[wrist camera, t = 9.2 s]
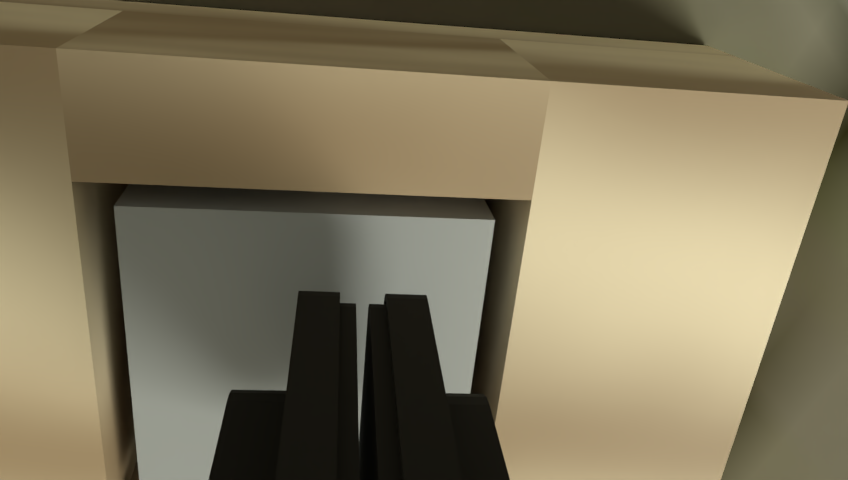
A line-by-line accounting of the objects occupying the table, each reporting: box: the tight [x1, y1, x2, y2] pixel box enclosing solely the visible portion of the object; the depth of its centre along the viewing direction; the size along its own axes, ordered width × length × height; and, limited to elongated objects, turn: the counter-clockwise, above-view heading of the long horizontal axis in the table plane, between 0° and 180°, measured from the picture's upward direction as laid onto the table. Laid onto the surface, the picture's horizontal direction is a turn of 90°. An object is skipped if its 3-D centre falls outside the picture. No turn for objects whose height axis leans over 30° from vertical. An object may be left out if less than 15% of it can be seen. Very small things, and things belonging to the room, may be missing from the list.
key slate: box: [114, 184, 495, 480], centre depth 12 cm, size 5×5×2 cm
